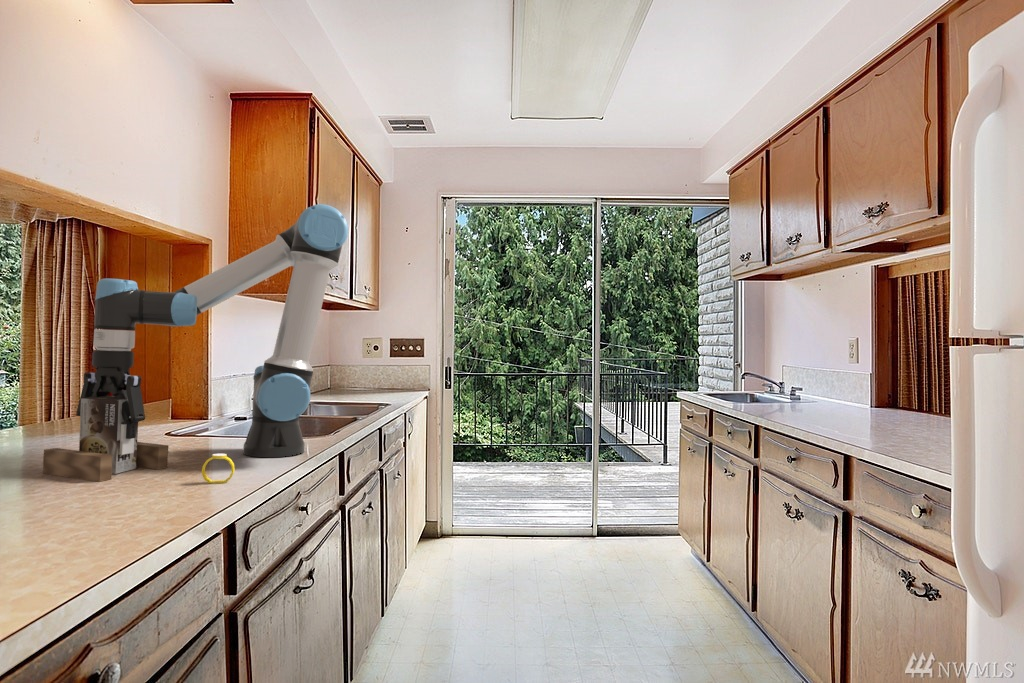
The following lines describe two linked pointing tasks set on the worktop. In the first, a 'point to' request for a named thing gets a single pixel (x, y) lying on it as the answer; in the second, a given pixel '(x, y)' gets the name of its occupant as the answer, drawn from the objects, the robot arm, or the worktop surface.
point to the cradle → (99, 462)
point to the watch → (218, 456)
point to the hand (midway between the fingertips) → (108, 451)
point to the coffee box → (105, 430)
